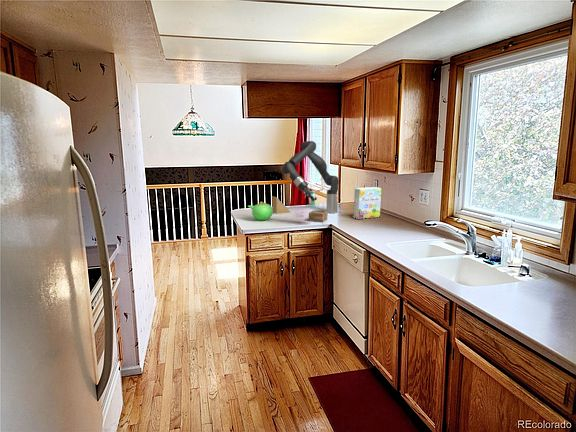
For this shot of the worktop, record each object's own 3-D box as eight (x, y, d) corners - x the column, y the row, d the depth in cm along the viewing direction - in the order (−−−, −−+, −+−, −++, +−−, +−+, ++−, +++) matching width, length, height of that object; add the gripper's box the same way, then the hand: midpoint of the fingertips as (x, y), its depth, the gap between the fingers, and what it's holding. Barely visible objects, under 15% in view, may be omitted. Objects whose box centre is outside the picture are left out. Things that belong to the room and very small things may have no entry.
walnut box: (313, 218, 333) (313, 210, 332) (327, 219, 328) (327, 211, 327) (308, 221, 323) (308, 212, 321) (322, 222, 318) (322, 213, 316)
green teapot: (261, 223, 316) (261, 204, 313) (247, 220, 327) (246, 202, 324) (277, 219, 330) (276, 201, 327) (262, 216, 340) (262, 199, 337)
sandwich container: (291, 212, 359) (291, 196, 356) (276, 214, 352) (276, 197, 349) (287, 210, 367) (286, 194, 363) (272, 212, 359) (272, 196, 356)
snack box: (358, 220, 326) (359, 189, 320) (352, 218, 333) (353, 187, 328) (380, 218, 333) (382, 187, 328) (374, 216, 341) (375, 186, 336)
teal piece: (309, 205, 313) (309, 190, 310) (319, 205, 309) (319, 191, 307) (305, 206, 305) (306, 191, 303) (315, 207, 302) (315, 192, 300)
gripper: (300, 181, 300) (315, 198, 298) (307, 179, 313) (321, 195, 310) (294, 187, 303) (308, 204, 301) (301, 185, 316) (315, 201, 313)
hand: (315, 200), depth 306 cm, fingers closed on teal piece, 3 cm apart
